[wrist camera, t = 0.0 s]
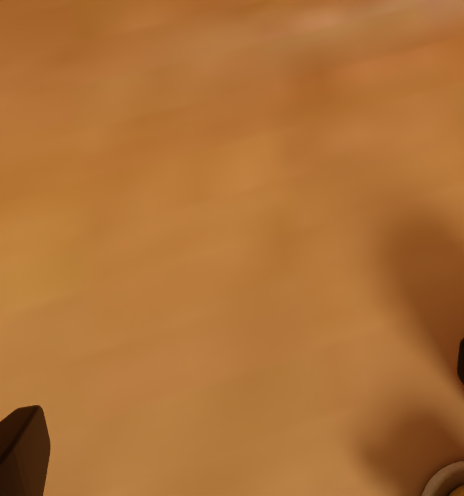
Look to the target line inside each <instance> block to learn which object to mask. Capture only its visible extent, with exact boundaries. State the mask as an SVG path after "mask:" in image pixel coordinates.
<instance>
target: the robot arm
mask: <svg viewBox="0 0 464 496" xmlns="http://www.w3.org/2000/svg"><path fill="white" fill-rule="evenodd" d="M457 374H458V377H459V379H460V381H461V382H462V383H463V385H464V338H463V339H462V340H461V341H460V344H459V353H458V363H457ZM49 456H50V439H49V434H48V430H47V425H46V421H45V416H44V412H43V409H42V408H41V406H39V405H34V406H28V407H21V408H18V409H16V410H14V411H13V412H12V413H11V414H9V415H8V416H7V417H6V418H4V419H3V420H2V421H1V422H0V496H43V492H44V486H45V480H46V474H47V468H48V462H49Z"/></svg>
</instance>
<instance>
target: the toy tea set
mask: <svg viewBox="0 0 464 496" xmlns="http://www.w3.org/2000/svg"><path fill="white" fill-rule="evenodd" d="M422 496H464V461H460V462H456V463H452V464H450V465H448V466H446V467H444V468H443V469H441V470H439V471H438V472H437V473H436V474H435V475H434V476H433V477H432V478H431V479H430V481H429V482H428V483H427V485H426V487H425V489H424V491H423V493H422Z"/></svg>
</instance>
